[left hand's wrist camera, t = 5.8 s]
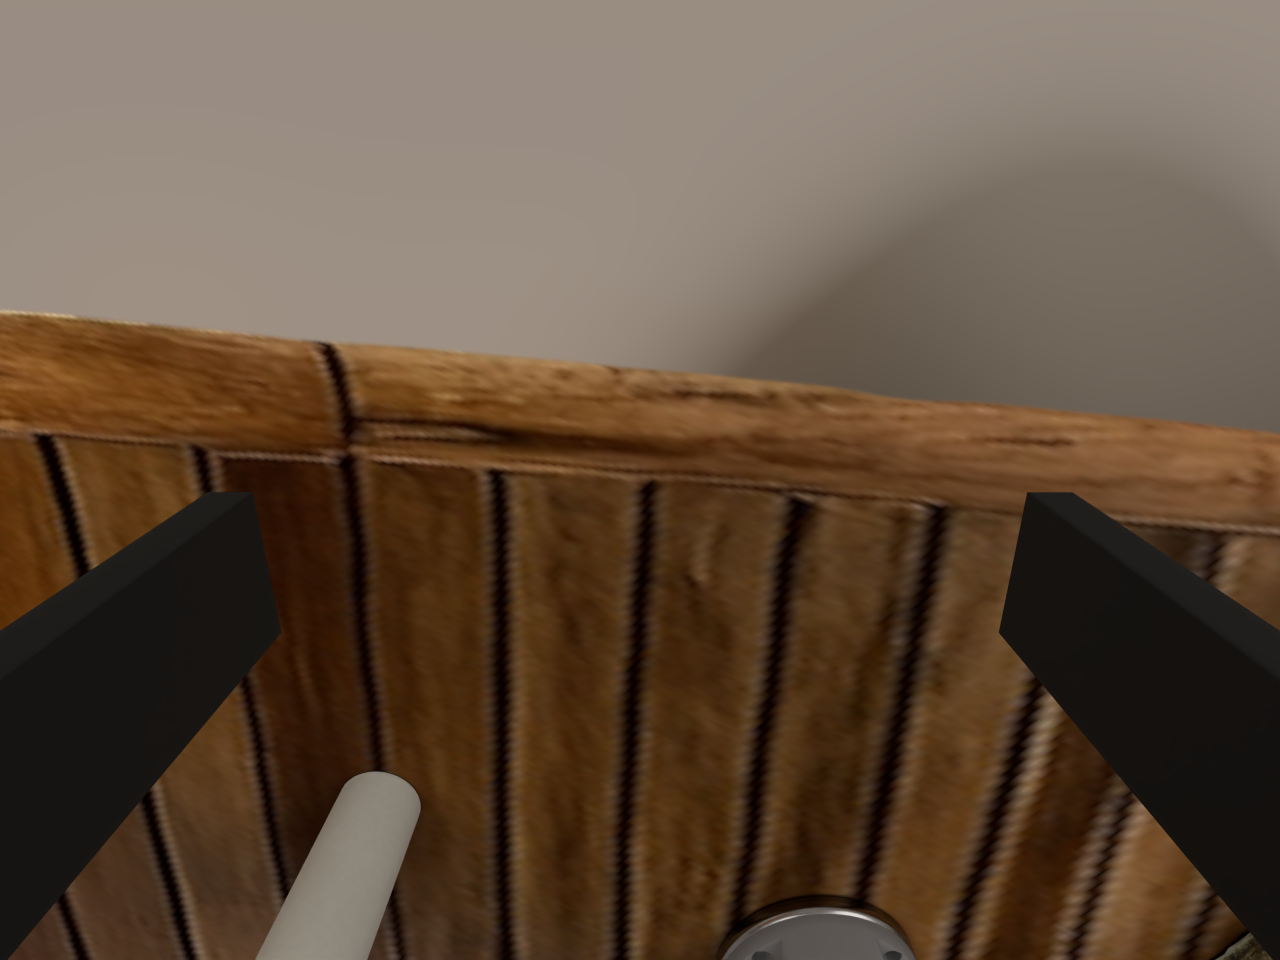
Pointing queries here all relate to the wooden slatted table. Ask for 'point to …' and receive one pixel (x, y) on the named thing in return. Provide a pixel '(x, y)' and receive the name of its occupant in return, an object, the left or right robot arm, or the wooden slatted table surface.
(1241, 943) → the fossil
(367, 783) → the bottle
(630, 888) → the wooden slatted table surface
